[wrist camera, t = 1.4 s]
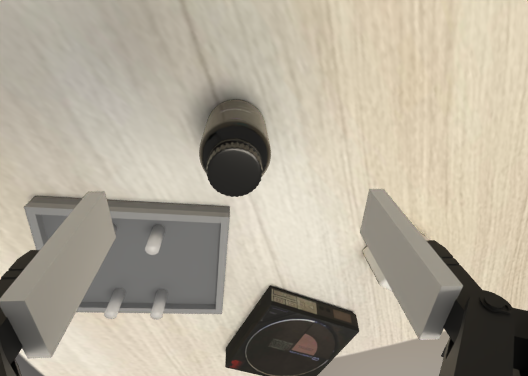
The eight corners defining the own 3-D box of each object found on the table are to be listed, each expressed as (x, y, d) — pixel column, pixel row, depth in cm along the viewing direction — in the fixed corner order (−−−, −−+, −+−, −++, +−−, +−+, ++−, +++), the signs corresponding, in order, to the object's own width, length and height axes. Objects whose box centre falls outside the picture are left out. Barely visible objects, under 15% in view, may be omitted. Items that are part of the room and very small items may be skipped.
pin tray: (62, 298, 48) (43, 330, 43) (35, 195, 40) (8, 221, 35) (222, 301, 51) (221, 331, 46) (229, 206, 43) (229, 231, 38)
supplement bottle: (242, 85, 35) (245, 117, 25) (275, 133, 38) (291, 180, 28) (193, 120, 37) (177, 165, 26) (229, 164, 40) (227, 220, 29)
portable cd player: (353, 309, 55) (361, 329, 52) (303, 364, 62) (307, 385, 59) (270, 281, 51) (273, 302, 47) (226, 345, 58) (225, 367, 54)
